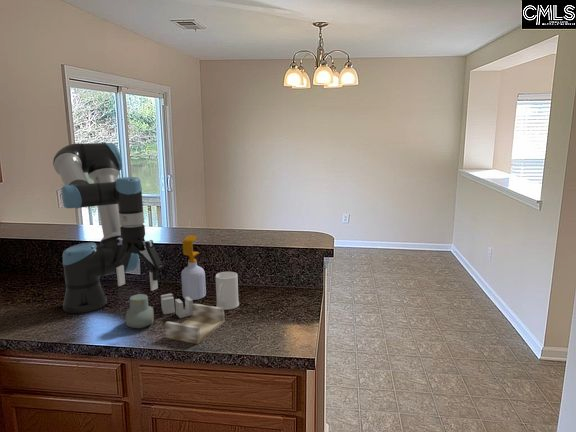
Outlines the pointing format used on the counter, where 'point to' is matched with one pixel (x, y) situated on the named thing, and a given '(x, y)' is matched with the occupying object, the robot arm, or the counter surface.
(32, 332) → the counter surface
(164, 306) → the clip
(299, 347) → the counter surface
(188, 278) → the white orange spray bottle
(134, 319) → the air freshener
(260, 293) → the counter surface
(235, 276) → the mug
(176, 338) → the end holder
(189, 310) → the clip
